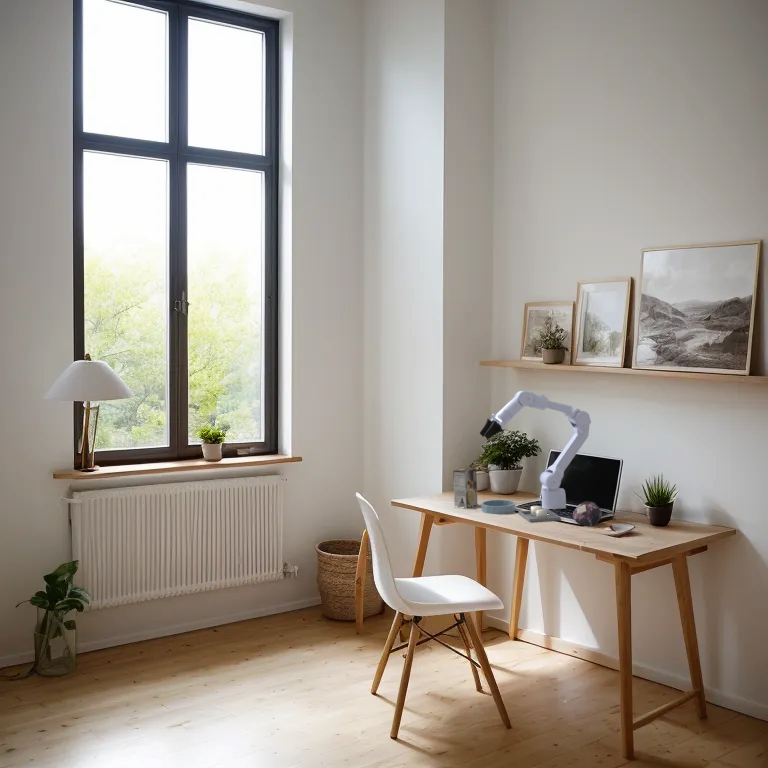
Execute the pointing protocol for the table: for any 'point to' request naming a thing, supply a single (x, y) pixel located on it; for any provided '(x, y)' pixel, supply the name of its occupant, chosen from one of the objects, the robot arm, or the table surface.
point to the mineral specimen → (587, 514)
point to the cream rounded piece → (541, 513)
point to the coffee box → (465, 487)
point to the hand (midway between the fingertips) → (483, 436)
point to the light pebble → (534, 510)
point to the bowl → (498, 506)
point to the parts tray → (530, 518)
